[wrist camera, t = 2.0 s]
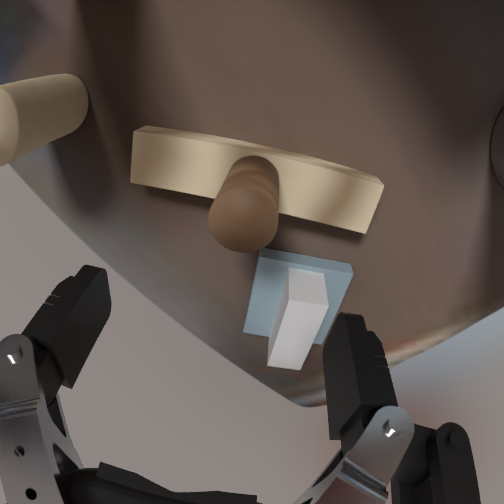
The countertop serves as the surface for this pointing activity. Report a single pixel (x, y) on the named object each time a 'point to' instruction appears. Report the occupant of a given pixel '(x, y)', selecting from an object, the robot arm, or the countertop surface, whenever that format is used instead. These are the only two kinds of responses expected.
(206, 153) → the maple bar
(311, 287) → the fulcrum block
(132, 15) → the countertop surface
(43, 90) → the candle
